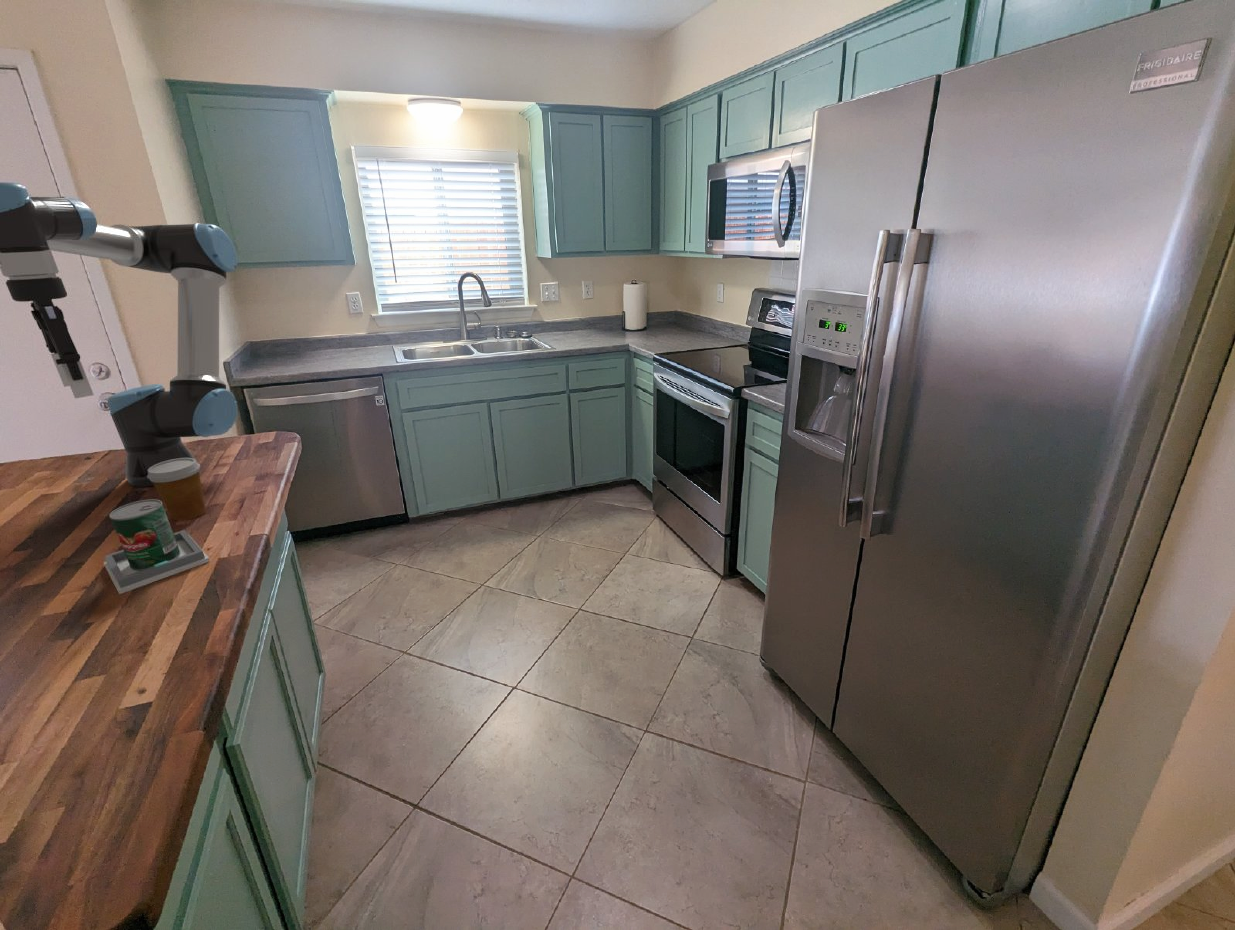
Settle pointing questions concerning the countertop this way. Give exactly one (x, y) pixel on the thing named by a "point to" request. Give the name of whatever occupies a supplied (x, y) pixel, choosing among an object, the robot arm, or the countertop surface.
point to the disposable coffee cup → (179, 487)
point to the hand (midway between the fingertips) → (78, 390)
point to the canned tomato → (145, 533)
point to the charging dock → (133, 579)
